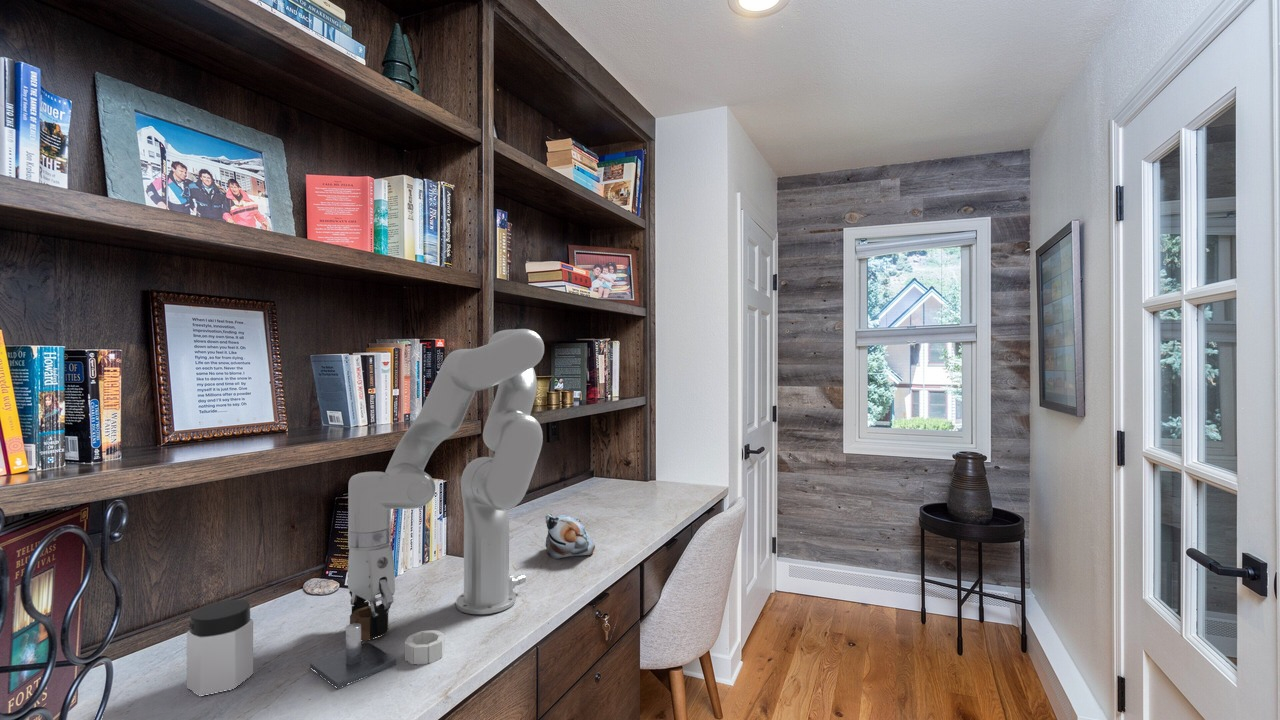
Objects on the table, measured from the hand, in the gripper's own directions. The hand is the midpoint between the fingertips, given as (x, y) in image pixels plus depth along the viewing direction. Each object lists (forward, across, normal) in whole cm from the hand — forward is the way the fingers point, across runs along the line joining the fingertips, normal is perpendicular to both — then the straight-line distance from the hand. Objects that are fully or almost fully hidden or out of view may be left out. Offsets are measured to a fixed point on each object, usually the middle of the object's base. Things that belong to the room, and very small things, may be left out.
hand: (369, 628), depth 116 cm
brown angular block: (+1, 0, 0) cm, 1 cm away
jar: (+1, +2, +24) cm, 24 cm away
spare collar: (+1, -16, -2) cm, 16 cm away
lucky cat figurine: (+1, +2, -57) cm, 57 cm away
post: (+1, -10, +8) cm, 13 cm away
